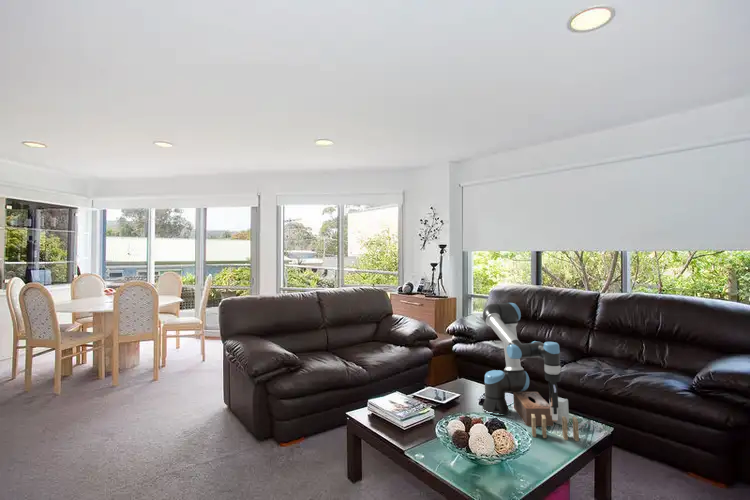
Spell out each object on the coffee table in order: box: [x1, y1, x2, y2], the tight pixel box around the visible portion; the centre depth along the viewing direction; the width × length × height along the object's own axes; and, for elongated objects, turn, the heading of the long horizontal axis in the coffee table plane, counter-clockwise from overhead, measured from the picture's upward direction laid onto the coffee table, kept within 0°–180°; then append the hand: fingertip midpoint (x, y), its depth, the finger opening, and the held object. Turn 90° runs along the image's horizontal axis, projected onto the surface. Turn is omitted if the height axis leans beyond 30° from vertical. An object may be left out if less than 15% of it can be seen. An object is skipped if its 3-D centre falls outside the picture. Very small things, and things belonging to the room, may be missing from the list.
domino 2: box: [541, 415, 548, 439], centre depth 205 cm, size 2×5×10 cm, turn 164°
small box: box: [548, 396, 570, 426], centre depth 221 cm, size 8×6×13 cm
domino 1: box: [531, 414, 537, 438], centre depth 206 cm, size 2×5×10 cm, turn 164°
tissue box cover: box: [512, 391, 554, 427], centre depth 229 cm, size 26×14×10 cm, turn 176°
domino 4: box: [572, 416, 580, 442], centre depth 201 cm, size 2×5×10 cm, turn 164°
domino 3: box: [561, 416, 569, 441], centre depth 202 cm, size 2×5×10 cm, turn 164°
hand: (554, 417), depth 204 cm, fingers closed on terracotta domino, 5 cm apart
